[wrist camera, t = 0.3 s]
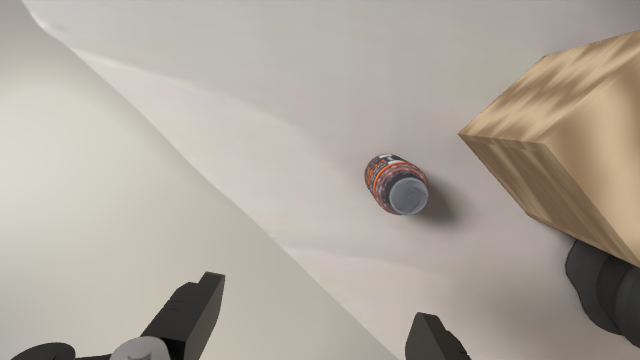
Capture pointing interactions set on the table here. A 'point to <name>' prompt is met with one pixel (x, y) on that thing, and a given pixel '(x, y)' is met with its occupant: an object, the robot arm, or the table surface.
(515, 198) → the shelf riser
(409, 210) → the supplement bottle
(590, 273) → the casserole
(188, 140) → the table surface
